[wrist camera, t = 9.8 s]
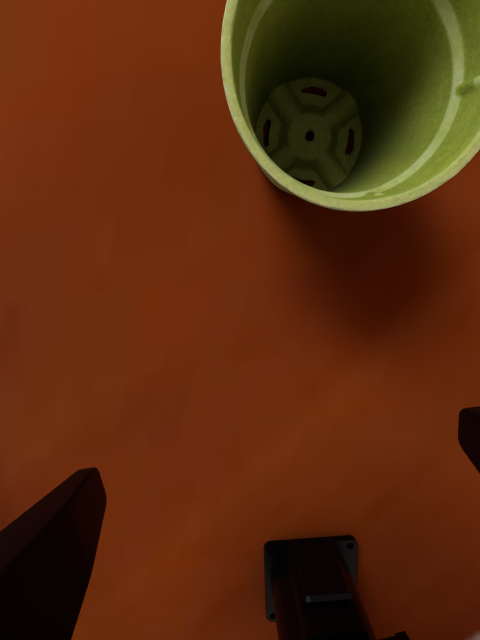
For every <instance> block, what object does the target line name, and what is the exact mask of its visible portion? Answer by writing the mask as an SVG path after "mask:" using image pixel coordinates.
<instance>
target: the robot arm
mask: <svg viewBox="0 0 480 640" xmlns="http://www.w3.org/2000/svg"><path fill="white" fill-rule="evenodd" d="M458 440H459V444H460V446H461V448H462V449H463V451H464V452H465V454H466V455H467V456H468V458H469V459H470V461H471V462H472V463H473V465H474V466H475V468H476V469H477V470H478V472H479V473H480V407H470V408H464V409H462V410H461V411H460V413H459V426H458ZM105 508H106V493H105V489H104V486H103V483H102V480H101V476H100V473H99V471H98V469H97V468H95V467H92V468H86V469H80V470H78V471H76V472H75V473H74V474H73V475H71V476H70V477H69V478H68V479H66V480H65V481H64V482H62V483H61V484H60V485H59V486H57V487H56V488H55V489H54V490H52V491H51V492H50V493H49V494H47V495H46V496H45V497H43V498H42V499H41V500H40V501H38V502H37V503H36V504H35V505H33V506H32V507H31V508H30V509H28V510H27V511H26V512H24V513H23V514H22V515H21V516H19V517H18V518H17V519H16V520H14V521H13V522H12V523H10V524H9V525H8V526H7V527H5V528H4V529H3V530H2V531H0V640H71V638H72V635H73V632H74V628H75V625H76V622H77V619H78V616H79V612H80V609H81V606H82V603H83V600H84V596H85V593H86V590H87V587H88V584H89V580H90V577H91V573H92V569H93V565H94V561H95V556H96V551H97V546H98V541H99V537H100V532H101V527H102V522H103V518H104V513H105ZM349 543H350V544H349ZM269 549H273V550H269ZM264 571H265V600H266V616H267V619H268V620H269V621H271V622H276V624H277V631H278V639H279V640H377V639H376V636H375V633H374V631H373V628H372V626H371V623H370V621H369V618H368V615H367V613H366V610H365V608H364V605H363V603H362V600H361V598H360V595H359V592H358V590H357V587H356V576H357V542H356V540H355V538H354V537H353V536H350V535H346V536H332V537H318V538H305V539H291V540H277V541H268V542H267V543H265V545H264ZM379 640H410V639H409V637H408V636H407V634H406V632H405V631H402V632H398V633H395V636H391V637H387V638H383V639H379Z"/></svg>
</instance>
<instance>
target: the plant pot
mask: <svg viewBox="0 0 480 640" xmlns="http://www.w3.org/2000/svg"><path fill="white" fill-rule="evenodd" d="M221 68H222V77H223V84H224V90H225V95H226V99H227V103H228V107H229V110H230V113H231V116H232V118H233V121H234V124H235V126H236V129H237V131H238V133H239V135H240V137H241V139H242V141H243V143H244V144H245V146H246V148H247V149H248V151H249V152H250V154H251V155H252V157H253V158H254V159H255V161H256V162H257V163H258V165H259V166H260V168H261V169H262V171H263V173H264V174H265V175H266V177H267V178H268V179H269V180H270V181H271V182H272V183H273V184H274V185H275V186H276V187H278V188H279V189H281V190H283V191H285V192H287V193H290V194H293V195H295V196H297V197H299V198H301V199H303V200H305V201H307V202H310V203H313V204H315V205H318V206H321V207H325V208H329V209H333V210H340V211H348V212H359V211H374V210H381V209H386V208H391V207H395V206H399V205H402V204H405V203H408V202H411V201H413V200H415V199H418V198H420V197H422V196H424V195H426V194H428V193H429V192H431V191H433V190H435V189H436V188H438V187H439V186H441V185H442V184H443V183H445V182H446V181H448V180H449V179H450V178H452V177H453V176H455V175H456V174H457V173H458V172H459V171H460V170H461V169H462V168H463V167H464V166H465V165H466V164H467V163H468V162H469V161H470V160H471V159H472V158H473V157H474V155H475V154H476V153H477V152H478V151H479V149H480V0H227V3H226V8H225V13H224V18H223V25H222V37H221ZM309 87H318V88H321V89H323V90H324V91H326V96H324V97H322V96H320V95H315V94H307V92H305V93H302V92H301V90H303V89H305V88H309ZM267 120H270V121H271V125H270V130H269V139H268V142H269V145H268V146H267V147H265V146H264V145H263V137H264V133H263V127H264V124H265V122H266V121H267ZM349 129H352V131H353V132H354V143H353V149H352V152H351V153H350V154H349V155H346V154H345V152H346V148H347V144H348V137H349ZM308 131H312V132H313V133H314V138H313V140H312V141H307V140H306V138H305V137H306V133H307V132H308ZM294 178H295V179H299V180H304V181H309V180H313V181H314V182H315V184H314V185H313V186H311V187H310V186H307V185H305V184H303V183H301V182H299V181H297V180H295V179H294Z"/></svg>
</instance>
